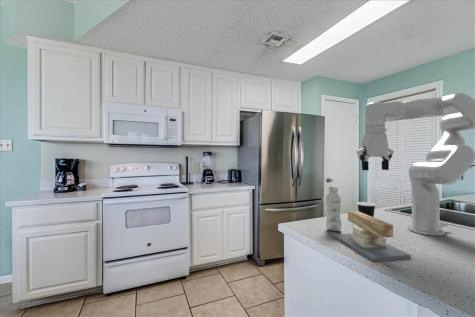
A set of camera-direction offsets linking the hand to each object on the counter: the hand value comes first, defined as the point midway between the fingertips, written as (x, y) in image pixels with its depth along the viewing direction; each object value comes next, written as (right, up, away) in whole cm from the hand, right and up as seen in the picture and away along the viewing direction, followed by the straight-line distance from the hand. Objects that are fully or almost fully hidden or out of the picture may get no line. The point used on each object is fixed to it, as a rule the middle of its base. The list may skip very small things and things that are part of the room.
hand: (375, 170), depth 95 cm
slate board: (-11, -28, -13) cm, 33 cm away
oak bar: (-11, -21, -13) cm, 27 cm away
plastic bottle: (-16, -29, +6) cm, 33 cm away
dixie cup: (+4, -29, +13) cm, 31 cm away
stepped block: (-11, -27, -13) cm, 32 cm away
